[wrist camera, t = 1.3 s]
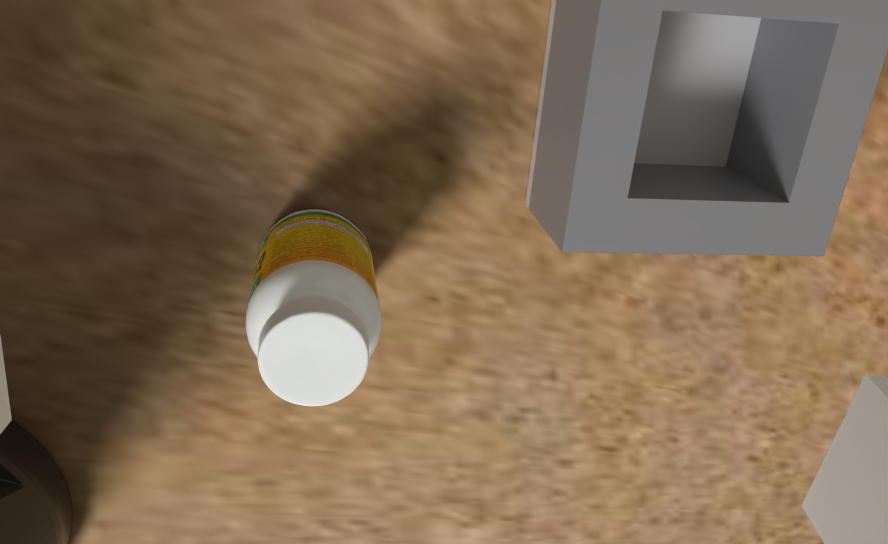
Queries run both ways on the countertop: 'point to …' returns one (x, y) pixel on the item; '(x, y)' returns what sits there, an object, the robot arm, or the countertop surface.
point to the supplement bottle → (313, 308)
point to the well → (702, 123)
